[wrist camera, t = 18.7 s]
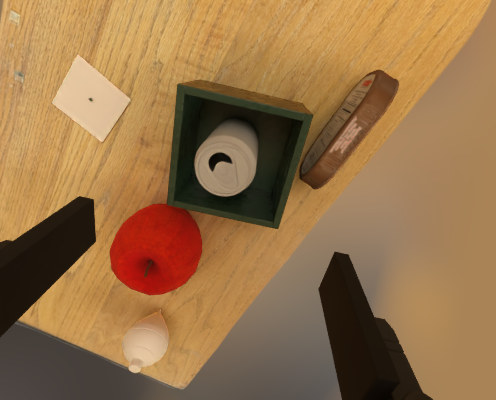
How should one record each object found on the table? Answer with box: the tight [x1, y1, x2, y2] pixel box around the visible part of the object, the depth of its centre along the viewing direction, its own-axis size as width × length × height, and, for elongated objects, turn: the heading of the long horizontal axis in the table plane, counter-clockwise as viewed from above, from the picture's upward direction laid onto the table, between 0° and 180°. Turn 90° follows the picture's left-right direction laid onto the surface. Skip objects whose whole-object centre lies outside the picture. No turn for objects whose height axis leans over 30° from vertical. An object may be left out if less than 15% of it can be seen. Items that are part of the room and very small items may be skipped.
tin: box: [299, 70, 399, 189], centre depth 33 cm, size 15×3×8 cm, turn 149°
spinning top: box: [122, 309, 169, 373], centre depth 48 cm, size 8×8×12 cm
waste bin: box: [167, 80, 313, 229], centre depth 34 cm, size 14×14×10 cm
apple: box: [110, 204, 202, 295], centre depth 39 cm, size 12×12×13 cm
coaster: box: [52, 55, 131, 143], centre depth 37 cm, size 8×8×1 cm
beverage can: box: [194, 118, 259, 196], centre depth 32 cm, size 6×6×12 cm
